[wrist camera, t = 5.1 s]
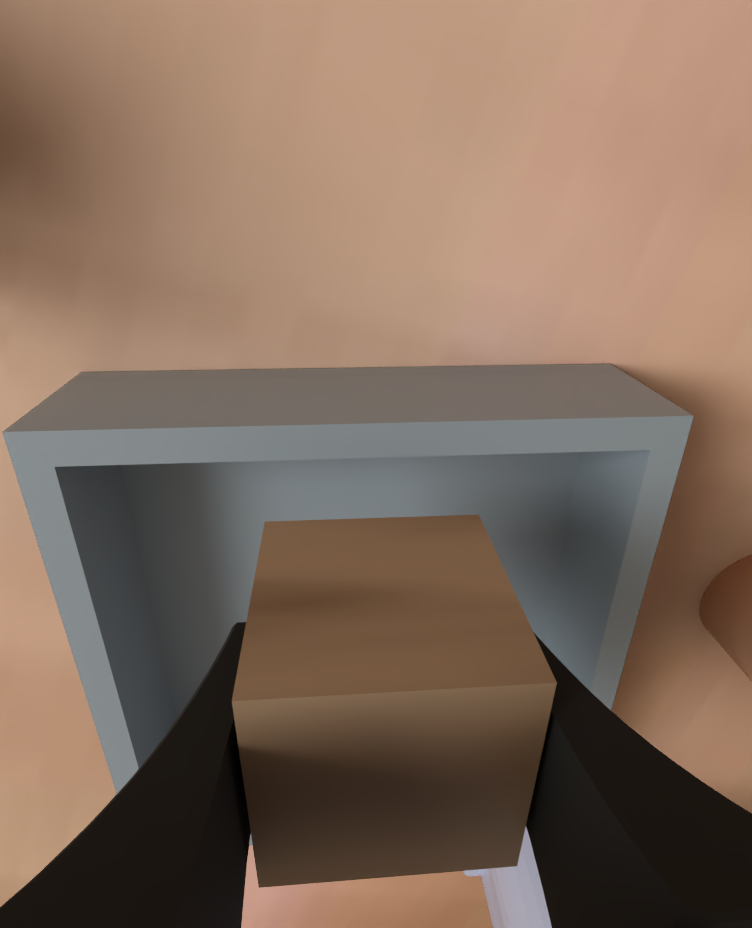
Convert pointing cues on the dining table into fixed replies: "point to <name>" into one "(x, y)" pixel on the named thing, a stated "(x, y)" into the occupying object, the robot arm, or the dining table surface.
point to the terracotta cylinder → (731, 612)
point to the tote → (331, 504)
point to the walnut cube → (386, 701)
